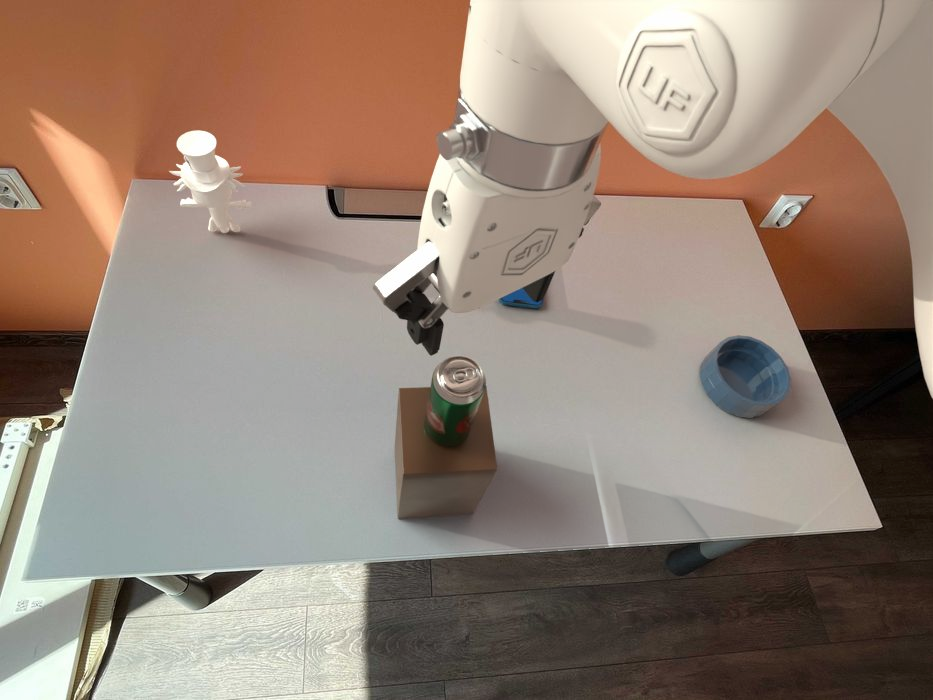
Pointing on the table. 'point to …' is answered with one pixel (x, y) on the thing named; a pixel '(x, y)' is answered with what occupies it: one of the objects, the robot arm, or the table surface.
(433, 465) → the plinth
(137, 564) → the table surface
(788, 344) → the table surface
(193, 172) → the figurine
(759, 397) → the bowl
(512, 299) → the smartphone
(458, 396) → the soda can
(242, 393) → the table surface
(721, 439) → the table surface
